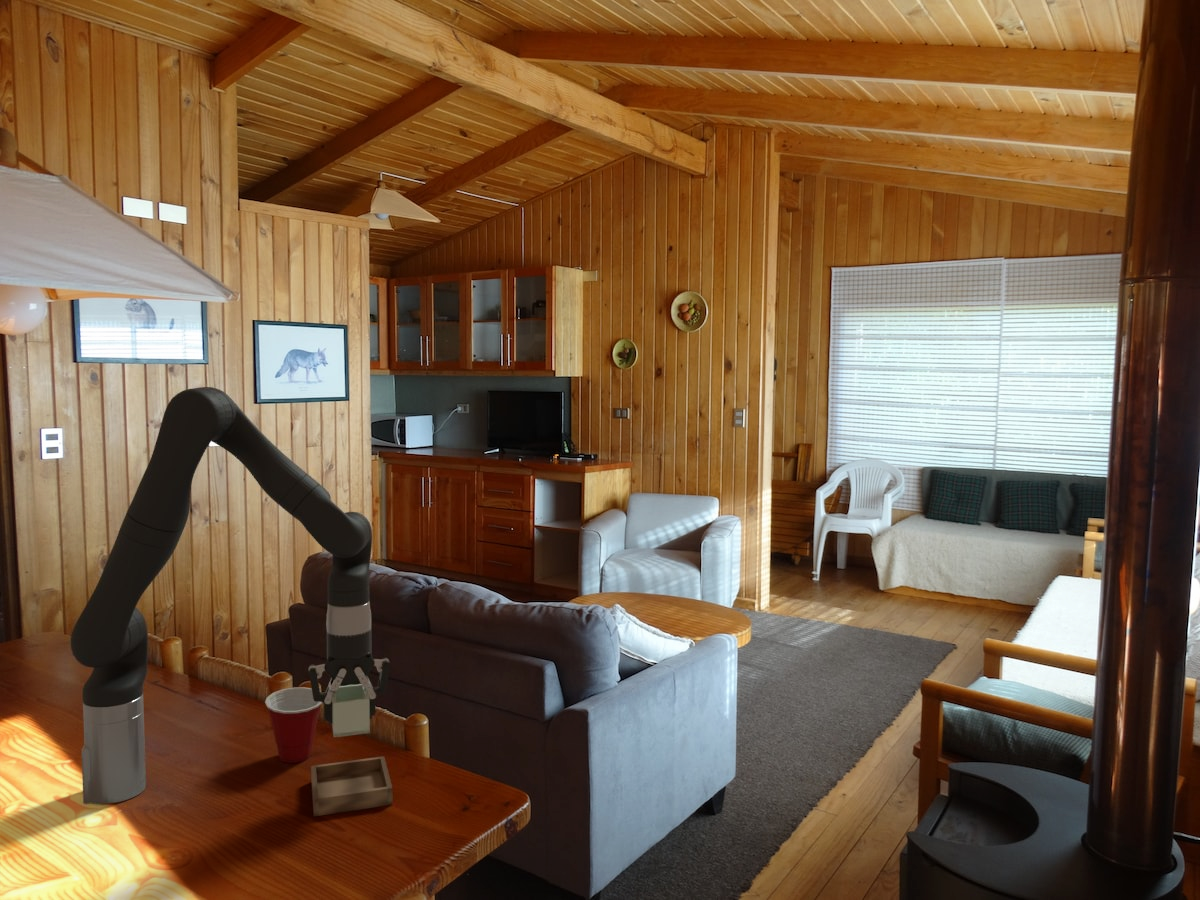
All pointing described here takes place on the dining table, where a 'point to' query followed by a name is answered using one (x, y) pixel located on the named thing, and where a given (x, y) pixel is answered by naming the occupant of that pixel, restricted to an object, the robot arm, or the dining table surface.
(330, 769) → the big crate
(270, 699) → the plastic cup
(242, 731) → the dining table surface
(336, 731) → the box
